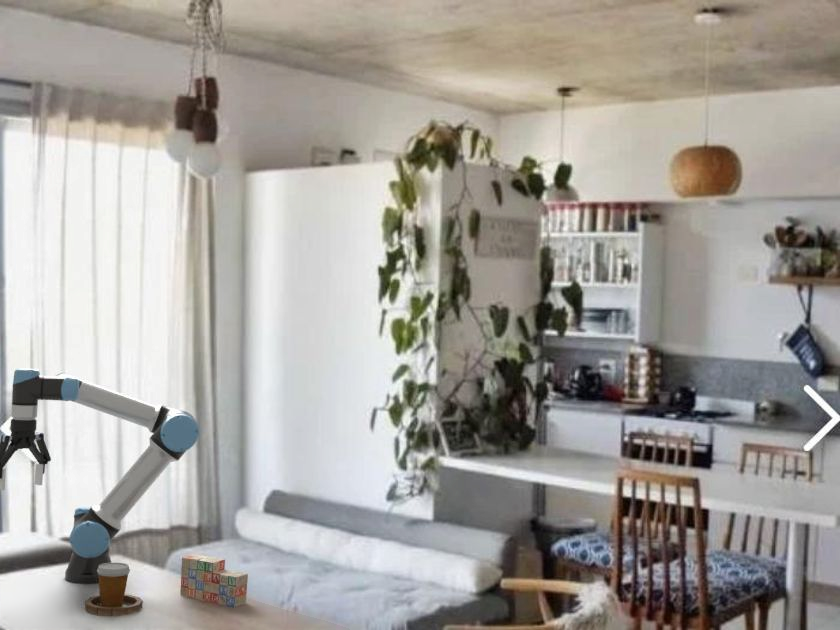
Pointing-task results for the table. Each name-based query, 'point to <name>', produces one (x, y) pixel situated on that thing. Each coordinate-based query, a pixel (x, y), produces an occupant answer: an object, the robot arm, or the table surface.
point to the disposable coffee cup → (112, 583)
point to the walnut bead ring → (114, 611)
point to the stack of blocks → (212, 581)
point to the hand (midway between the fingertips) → (19, 487)
